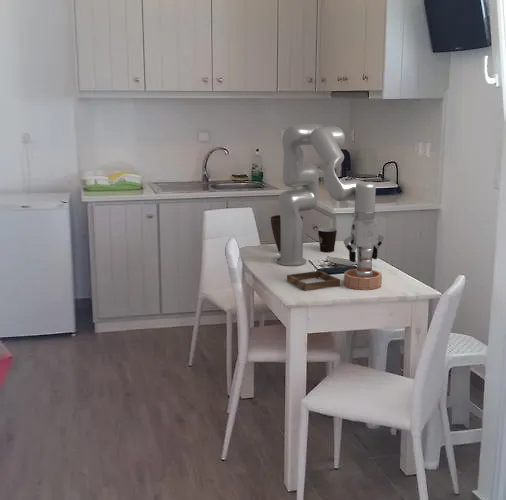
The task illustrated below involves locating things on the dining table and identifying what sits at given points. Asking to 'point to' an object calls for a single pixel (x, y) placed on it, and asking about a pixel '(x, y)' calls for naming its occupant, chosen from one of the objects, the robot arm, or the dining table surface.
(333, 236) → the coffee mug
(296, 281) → the brown picture frame
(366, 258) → the grey metal bulbous cylinder
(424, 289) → the dining table surface
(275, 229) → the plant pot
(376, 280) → the terracotta bowl
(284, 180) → the robot arm
